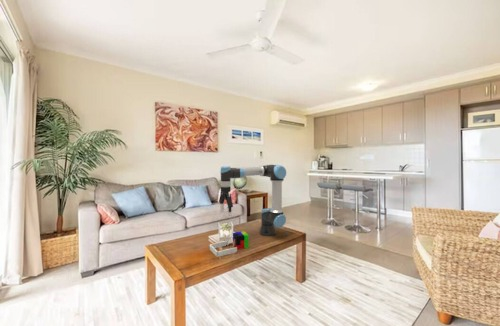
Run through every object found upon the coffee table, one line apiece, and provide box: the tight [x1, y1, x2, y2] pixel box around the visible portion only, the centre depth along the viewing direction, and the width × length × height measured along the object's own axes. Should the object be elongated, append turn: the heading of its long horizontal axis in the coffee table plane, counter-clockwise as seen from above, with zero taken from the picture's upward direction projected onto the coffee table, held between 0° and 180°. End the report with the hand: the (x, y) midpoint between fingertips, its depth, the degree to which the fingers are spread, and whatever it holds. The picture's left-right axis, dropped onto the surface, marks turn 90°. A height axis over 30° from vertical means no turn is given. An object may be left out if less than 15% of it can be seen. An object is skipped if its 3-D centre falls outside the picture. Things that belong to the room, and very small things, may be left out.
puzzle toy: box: [232, 230, 250, 251], centre depth 174 cm, size 10×10×10 cm
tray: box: [208, 240, 238, 258], centre depth 166 cm, size 16×16×4 cm
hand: (225, 214), depth 166 cm, fingers open, 13 cm apart
